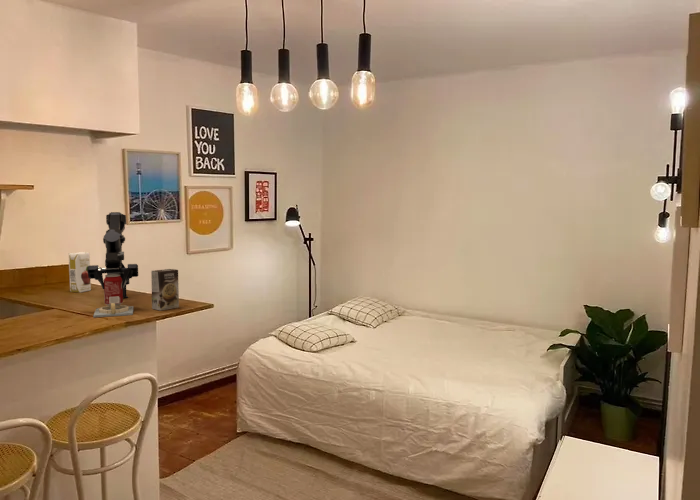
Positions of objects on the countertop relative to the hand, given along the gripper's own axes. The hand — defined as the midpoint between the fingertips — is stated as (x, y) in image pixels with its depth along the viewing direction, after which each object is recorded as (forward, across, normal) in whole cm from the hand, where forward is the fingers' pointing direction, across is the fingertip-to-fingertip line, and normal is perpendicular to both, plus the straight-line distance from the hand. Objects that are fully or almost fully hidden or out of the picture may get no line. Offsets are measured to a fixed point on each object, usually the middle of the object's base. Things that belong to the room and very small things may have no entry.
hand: (113, 288), depth 209 cm
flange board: (+6, 0, +8) cm, 10 cm away
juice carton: (-34, -18, +50) cm, 63 cm away
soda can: (+4, 0, +6) cm, 7 cm away
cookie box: (+5, +20, +10) cm, 22 cm away
